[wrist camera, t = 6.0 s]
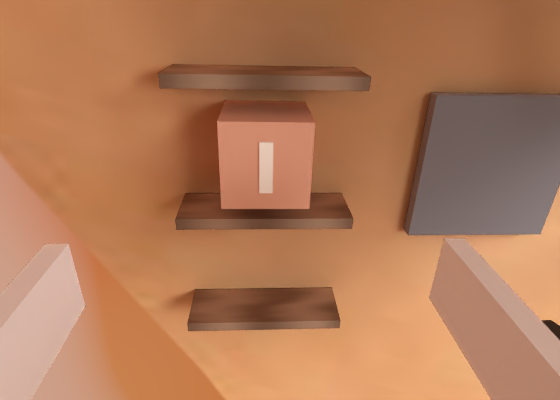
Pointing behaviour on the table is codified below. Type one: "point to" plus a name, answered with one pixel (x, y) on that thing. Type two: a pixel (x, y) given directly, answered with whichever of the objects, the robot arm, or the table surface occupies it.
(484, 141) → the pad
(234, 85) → the bay rack
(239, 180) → the letter cube
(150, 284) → the table surface
